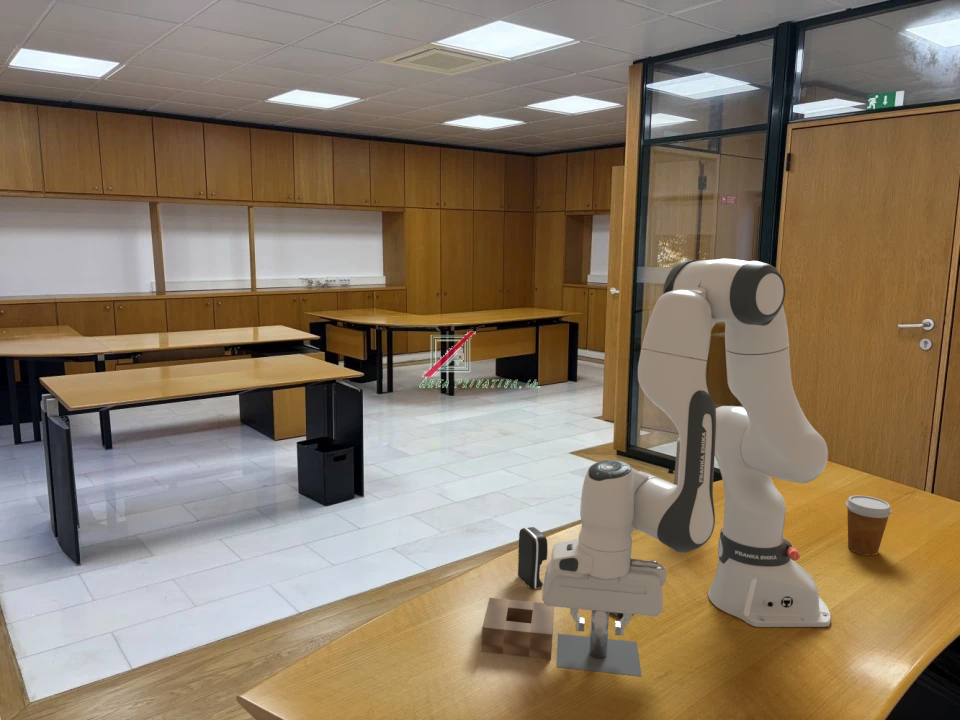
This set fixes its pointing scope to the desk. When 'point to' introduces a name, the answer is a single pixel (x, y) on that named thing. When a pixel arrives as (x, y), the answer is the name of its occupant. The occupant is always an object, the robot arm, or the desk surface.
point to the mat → (617, 661)
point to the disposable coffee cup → (866, 523)
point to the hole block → (518, 628)
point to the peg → (599, 634)
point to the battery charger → (531, 556)
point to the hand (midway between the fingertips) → (599, 631)
